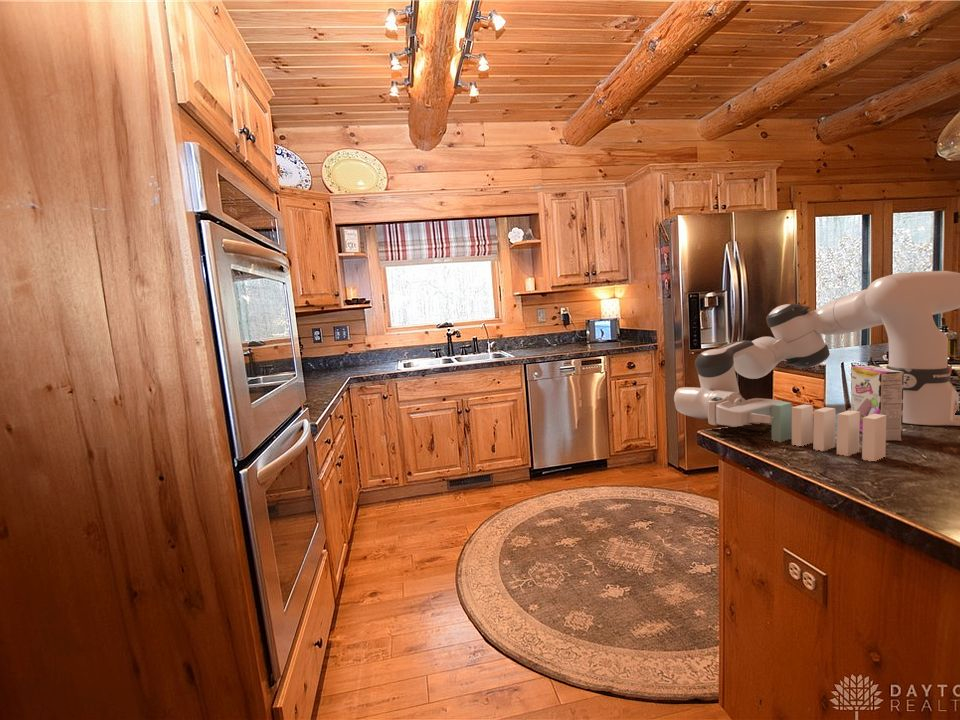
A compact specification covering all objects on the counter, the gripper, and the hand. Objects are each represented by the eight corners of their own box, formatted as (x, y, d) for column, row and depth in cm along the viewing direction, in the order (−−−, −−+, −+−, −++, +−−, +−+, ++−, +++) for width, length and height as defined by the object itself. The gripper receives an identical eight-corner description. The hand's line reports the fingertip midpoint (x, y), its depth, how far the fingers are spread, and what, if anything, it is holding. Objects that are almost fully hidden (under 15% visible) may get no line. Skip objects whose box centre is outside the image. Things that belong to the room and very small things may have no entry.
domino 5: (873, 454, 94) (874, 413, 93) (885, 457, 93) (886, 415, 92) (862, 459, 92) (862, 417, 91) (874, 462, 90) (875, 419, 89)
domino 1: (783, 436, 110) (783, 401, 109) (791, 438, 109) (791, 402, 108) (771, 440, 108) (771, 404, 107) (780, 442, 106) (780, 405, 105)
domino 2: (803, 440, 106) (803, 404, 105) (812, 442, 105) (813, 405, 104) (791, 444, 104) (791, 407, 103) (801, 446, 102) (801, 408, 101)
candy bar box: (848, 429, 113) (849, 365, 112) (871, 428, 112) (872, 365, 111) (878, 441, 102) (880, 371, 101) (903, 441, 101) (905, 371, 100)
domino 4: (848, 449, 98) (848, 410, 97) (859, 451, 97) (859, 411, 96) (836, 454, 96) (837, 413, 95) (847, 456, 94) (848, 415, 93)
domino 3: (824, 445, 102) (825, 407, 101) (834, 447, 101) (835, 408, 100) (813, 449, 100) (813, 410, 99) (823, 451, 98) (823, 412, 97)
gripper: (751, 413, 125) (806, 421, 112) (704, 425, 115) (758, 436, 103) (751, 391, 124) (806, 397, 112) (704, 401, 115) (758, 410, 102)
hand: (783, 416), depth 107 cm, fingers open, 8 cm apart
